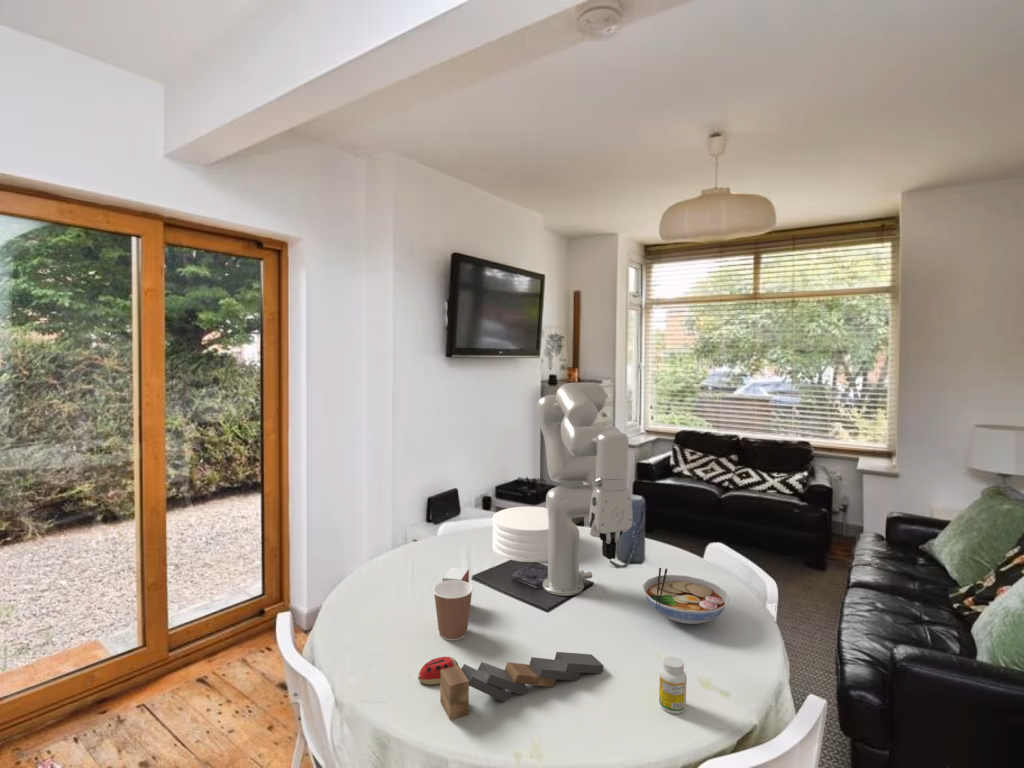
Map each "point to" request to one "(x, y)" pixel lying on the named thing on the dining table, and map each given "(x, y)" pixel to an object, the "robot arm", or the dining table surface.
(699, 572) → the dining table surface
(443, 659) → the ladybug figurine
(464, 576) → the small box
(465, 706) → the end block
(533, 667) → the domino
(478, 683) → the domino
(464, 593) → the coffee cup
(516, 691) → the domino
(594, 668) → the domino
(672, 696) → the supplement bottle
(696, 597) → the ramen bowl
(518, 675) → the domino
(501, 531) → the plate stack
